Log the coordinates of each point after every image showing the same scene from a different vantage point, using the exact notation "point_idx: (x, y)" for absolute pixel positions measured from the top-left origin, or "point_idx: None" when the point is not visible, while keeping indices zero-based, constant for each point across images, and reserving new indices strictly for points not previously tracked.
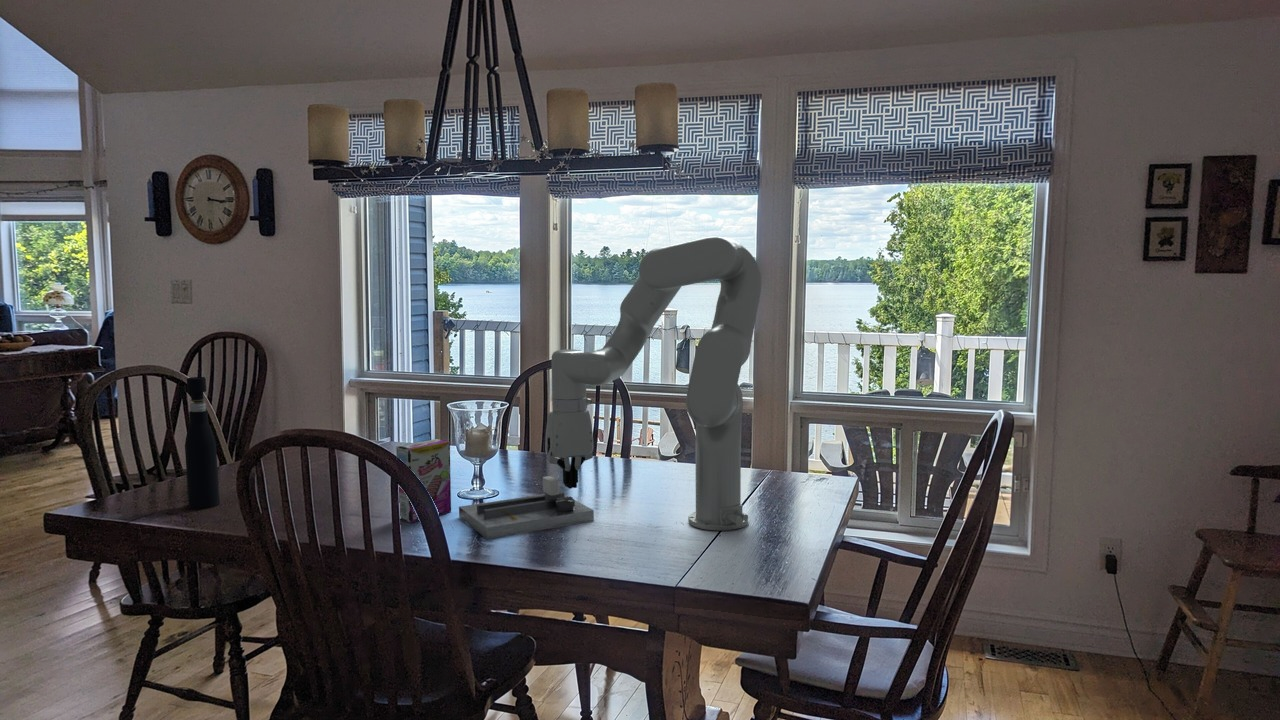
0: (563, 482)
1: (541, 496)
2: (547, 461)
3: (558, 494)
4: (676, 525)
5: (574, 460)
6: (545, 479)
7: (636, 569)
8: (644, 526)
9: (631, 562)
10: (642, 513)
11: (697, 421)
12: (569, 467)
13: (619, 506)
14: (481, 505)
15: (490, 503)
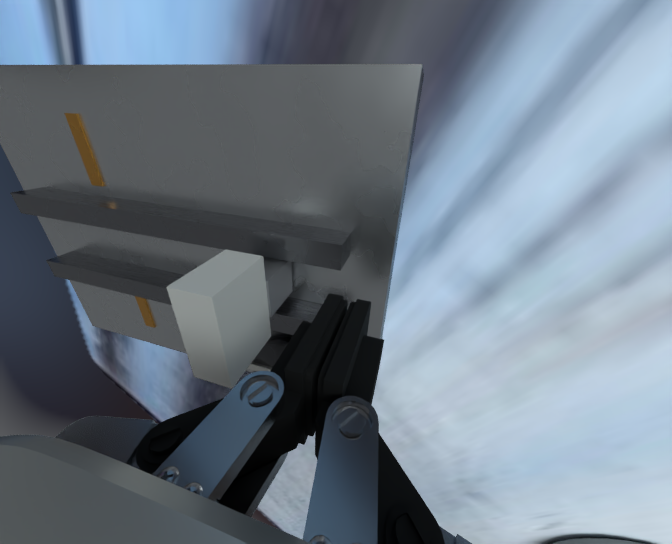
0: (303, 324)
1: (229, 248)
2: (76, 426)
3: (270, 335)
4: (522, 520)
5: (349, 486)
6: (181, 318)
7: (299, 522)
8: (452, 476)
9: (306, 512)
10: (560, 431)
11: None
12: (278, 457)
13: (588, 333)
14: (27, 212)
15: (50, 208)
